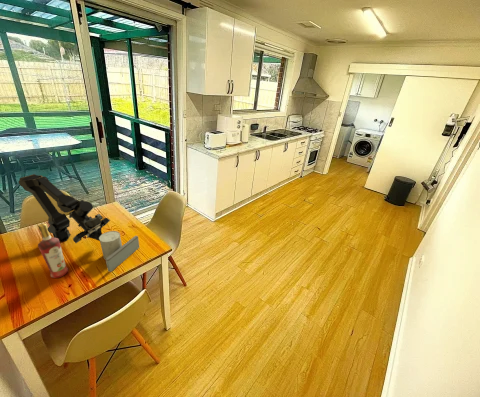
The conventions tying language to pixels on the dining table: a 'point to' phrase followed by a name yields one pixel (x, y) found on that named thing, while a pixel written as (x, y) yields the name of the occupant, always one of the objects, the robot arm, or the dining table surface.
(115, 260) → the grey rectangular panel
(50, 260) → the liquor
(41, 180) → the robot arm
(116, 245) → the grey stubby cylinder
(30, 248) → the dining table surface
